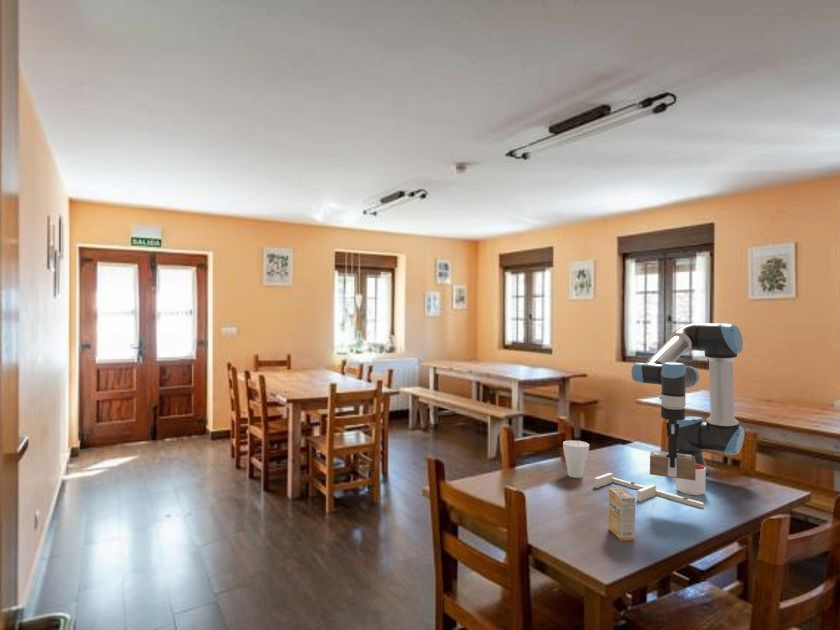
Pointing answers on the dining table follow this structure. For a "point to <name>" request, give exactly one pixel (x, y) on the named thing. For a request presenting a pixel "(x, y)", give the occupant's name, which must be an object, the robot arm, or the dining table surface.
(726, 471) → the dining table surface
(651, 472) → the wooden block
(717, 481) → the dining table surface
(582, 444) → the cup
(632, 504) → the supplement box
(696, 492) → the cup
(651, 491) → the notch rail
